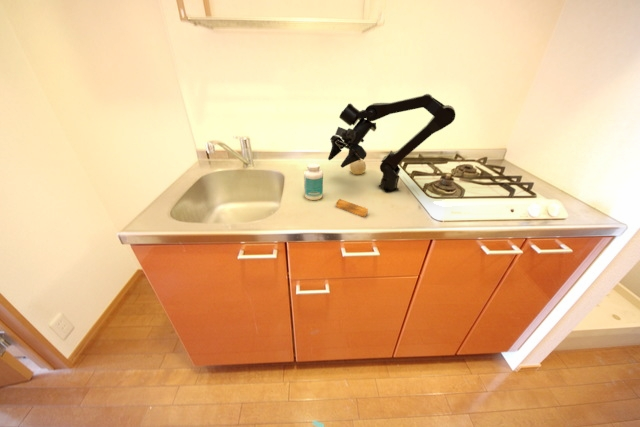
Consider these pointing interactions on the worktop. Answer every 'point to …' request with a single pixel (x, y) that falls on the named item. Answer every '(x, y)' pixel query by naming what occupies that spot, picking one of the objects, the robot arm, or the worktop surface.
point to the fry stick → (352, 207)
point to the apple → (358, 167)
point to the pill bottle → (313, 182)
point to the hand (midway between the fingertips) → (334, 163)
